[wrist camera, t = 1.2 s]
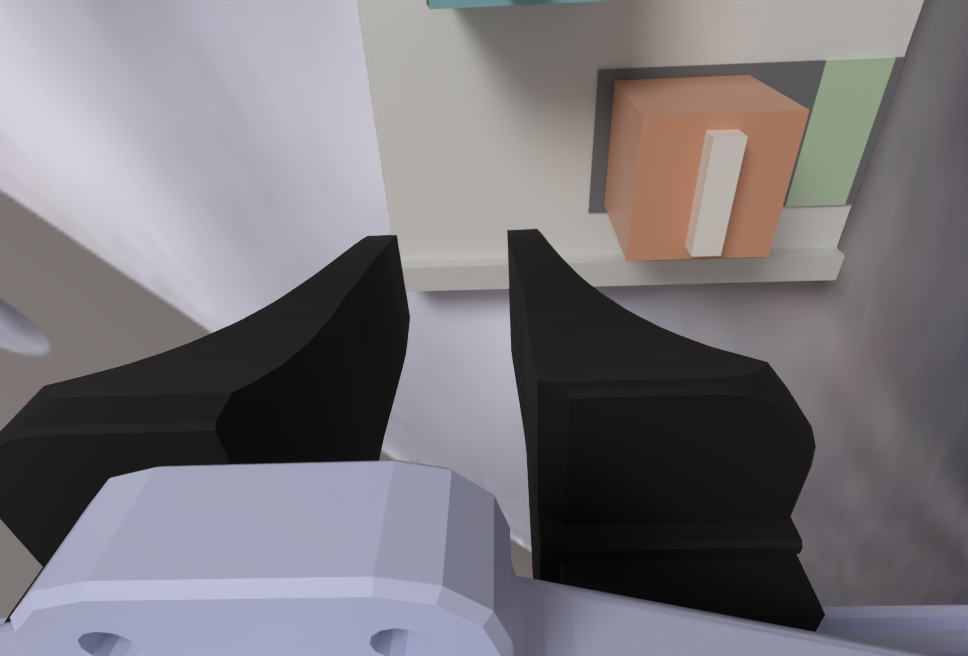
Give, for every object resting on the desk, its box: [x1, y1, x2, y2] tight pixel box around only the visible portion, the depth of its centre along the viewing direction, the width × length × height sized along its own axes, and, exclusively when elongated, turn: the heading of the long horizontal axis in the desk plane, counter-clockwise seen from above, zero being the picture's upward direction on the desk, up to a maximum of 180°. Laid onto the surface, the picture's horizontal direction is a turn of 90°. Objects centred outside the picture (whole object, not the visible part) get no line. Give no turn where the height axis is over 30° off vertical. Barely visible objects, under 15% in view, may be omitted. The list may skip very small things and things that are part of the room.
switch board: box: [357, 0, 924, 292], centre depth 17 cm, size 16×15×2 cm
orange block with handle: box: [604, 75, 810, 261], centre depth 16 cm, size 4×4×5 cm
